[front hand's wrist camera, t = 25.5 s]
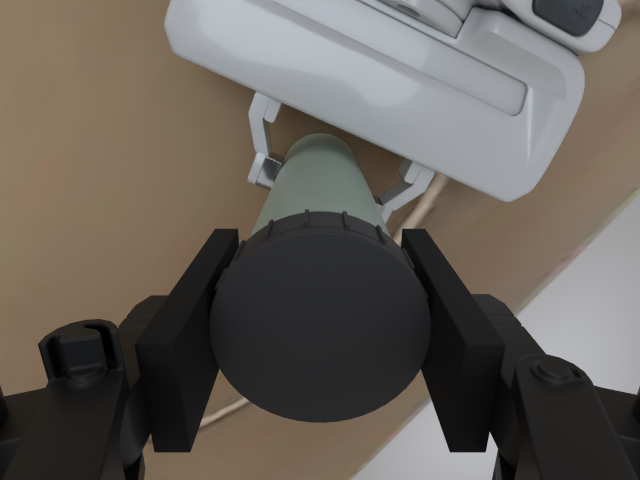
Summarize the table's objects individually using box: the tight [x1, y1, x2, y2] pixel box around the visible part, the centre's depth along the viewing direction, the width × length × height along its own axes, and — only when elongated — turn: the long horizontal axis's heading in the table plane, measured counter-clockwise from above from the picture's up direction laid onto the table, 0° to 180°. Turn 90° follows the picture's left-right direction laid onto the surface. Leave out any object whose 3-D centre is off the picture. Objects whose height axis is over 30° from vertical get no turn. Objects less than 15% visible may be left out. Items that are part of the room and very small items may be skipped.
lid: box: [209, 209, 432, 423], centre depth 11 cm, size 6×6×2 cm
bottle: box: [249, 133, 391, 238], centre depth 20 cm, size 5×5×19 cm
